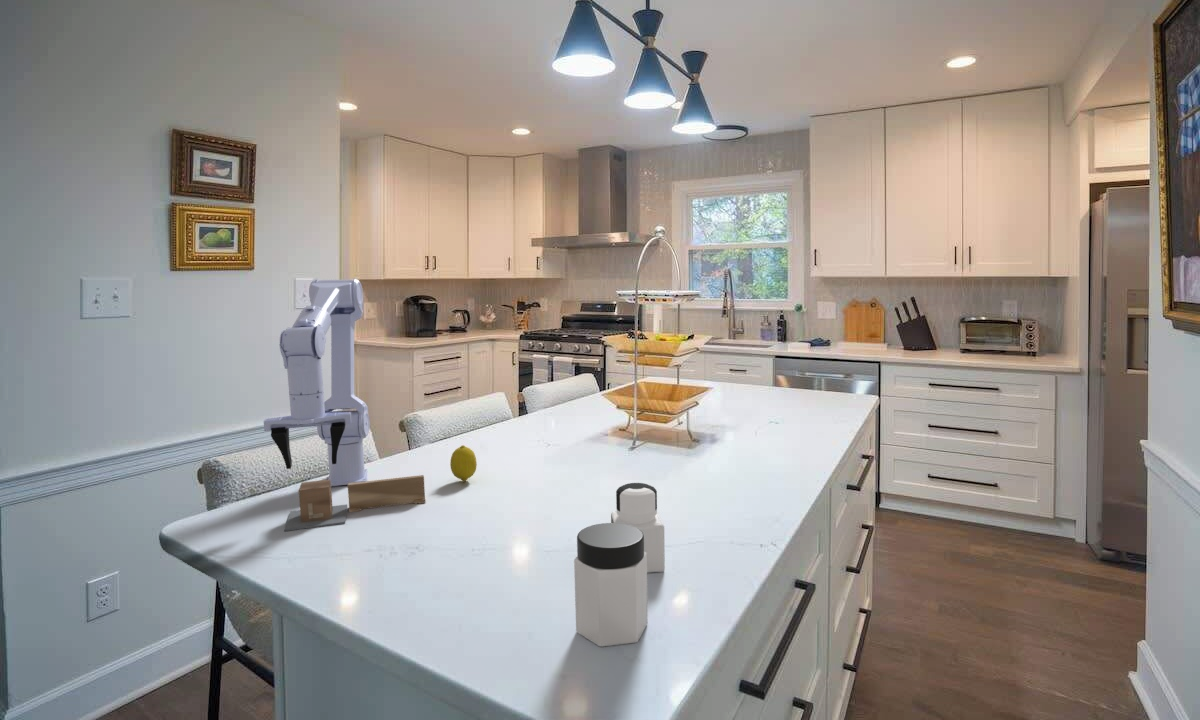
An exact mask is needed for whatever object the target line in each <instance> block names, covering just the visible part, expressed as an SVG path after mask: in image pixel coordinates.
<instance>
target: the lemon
mask: <svg viewBox="0 0 1200 720" xmlns="http://www.w3.org/2000/svg"><path fill="white" fill-rule="evenodd" d="M450 456H451V457H450V462H449V463H450V464H449V465H450V470H451V473H452V474H453V476H454V477H455V478H457V479H458V480H461V481H462V482H463V483H464V481H465V482H467V480H468V479H470V478H471V477H472V476H474V474H475V473H476V470H477V467H478V466H477V465H478V464H477V458H476V455H475V452H474V451H473V449H471V448H469V447H467V446H465V445H460V446H459V447H457V448H456V449H455V450H454V451H453V452H452V454H451V455H450Z"/></svg>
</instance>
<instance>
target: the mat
mask: <svg viewBox="0 0 1200 720" xmlns="http://www.w3.org/2000/svg"><path fill="white" fill-rule="evenodd" d="M332 507H333V511H332V517H331V519H326V520H318V521H310V522H302V523H301V513H300V509H299V510H298V509H297V510H291V511H289V514H288V518H287V521H286V523H285V526H284V529H283V532H290V530H291V531H297V530H296V529H299V530H305V529H304V528H306V529H314V528H319V526H322V527H327V526H326V525H329V526H336V525H335V524H337V525H344V524H346V520H347V512H348V511H347V510H348V504H347V503H346V504H340V505H332ZM313 527H314V528H313Z"/></svg>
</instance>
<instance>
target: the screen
mask: <svg viewBox="0 0 1200 720" xmlns="http://www.w3.org/2000/svg"><path fill="white" fill-rule="evenodd" d="M425 492H426V489H425V476H424V474H419V475H413V476H410V475H409V476H402V477H395V478H394V477H393V478H386V479H378V480H377V479H376V480H367V481H365V482H357V483H348V485H347V496H348V510H349V512H348V513H353V512H361V510H365V509H373V508H374V507H375V508H381V507H382V506H383V507H391V506H399V505H405V504H412V503H414V502H415V503H414V504H415V505H417V503H419V504H424V502H426V495H425Z"/></svg>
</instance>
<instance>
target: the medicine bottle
mask: <svg viewBox="0 0 1200 720" xmlns="http://www.w3.org/2000/svg"><path fill="white" fill-rule="evenodd" d="M657 493H658V492H657V489H656V488H655V487H654V486H652V485H650V484H647V483H642V482H629V483H625V484H623V485H621V486H619V487H618V488H617V489H616V492H615V494H616V495H615V496H616V497H615V498H616V502H615V503H616V511H615V510H613V511H611V512H610V523H621V524H627V525H631V526H634V527H636V528H638V529H639V530H641V531H642V533H643V534H644V551H645V552H646V553H647V574H648V573H663V572H665V569H666V566H665V557H666V556H665V553H666V552H665V526H664V523H663V521H662V519H661V517H660V515H659V512H658V494H657Z"/></svg>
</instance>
